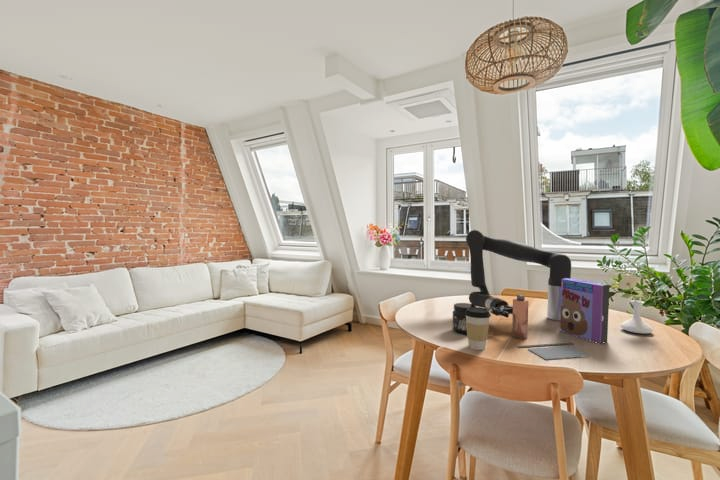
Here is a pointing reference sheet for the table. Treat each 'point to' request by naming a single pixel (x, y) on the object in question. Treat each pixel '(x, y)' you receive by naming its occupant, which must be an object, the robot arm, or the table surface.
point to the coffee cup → (477, 327)
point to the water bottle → (520, 318)
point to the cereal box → (584, 309)
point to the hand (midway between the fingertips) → (517, 314)
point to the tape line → (544, 345)
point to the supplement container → (460, 317)
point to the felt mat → (557, 352)
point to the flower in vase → (635, 322)
